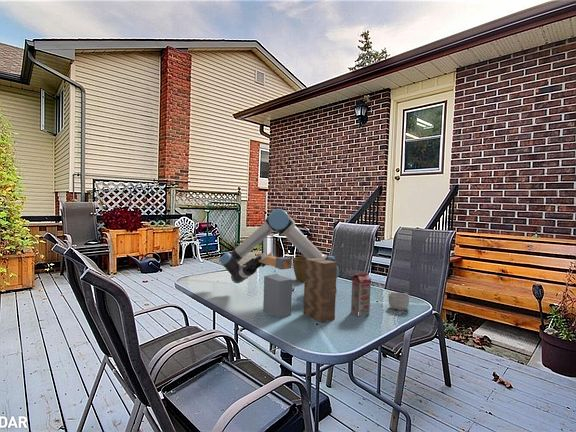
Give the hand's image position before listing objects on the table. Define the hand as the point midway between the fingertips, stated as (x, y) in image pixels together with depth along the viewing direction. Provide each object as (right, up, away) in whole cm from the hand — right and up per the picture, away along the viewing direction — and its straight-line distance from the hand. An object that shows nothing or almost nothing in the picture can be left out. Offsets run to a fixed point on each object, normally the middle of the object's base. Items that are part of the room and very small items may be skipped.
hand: (268, 254), depth 173 cm
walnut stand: (+25, -30, -9) cm, 40 cm away
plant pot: (+20, -27, +66) cm, 74 cm away
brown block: (+2, -5, -2) cm, 6 cm away
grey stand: (+4, -29, -5) cm, 30 cm away
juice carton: (+47, -30, -3) cm, 56 cm away
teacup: (+72, -31, +9) cm, 79 cm away
